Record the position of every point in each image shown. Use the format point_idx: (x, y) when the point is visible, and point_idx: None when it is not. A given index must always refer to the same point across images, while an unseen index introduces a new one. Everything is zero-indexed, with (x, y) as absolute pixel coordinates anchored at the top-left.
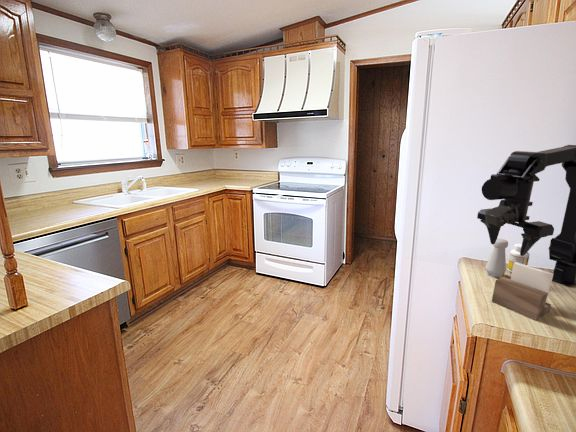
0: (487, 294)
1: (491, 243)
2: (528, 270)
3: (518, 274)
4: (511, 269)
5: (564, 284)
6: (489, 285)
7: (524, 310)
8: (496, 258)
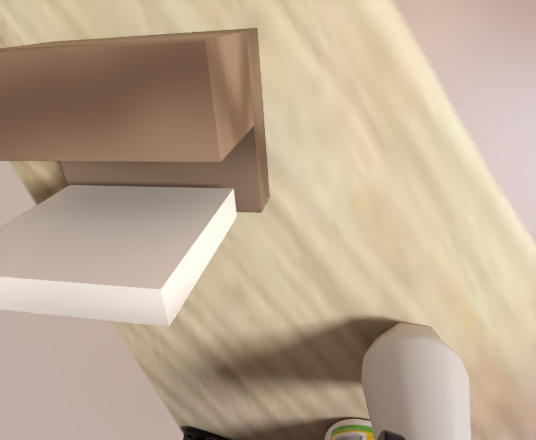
0: (318, 99)
1: (394, 436)
2: (68, 268)
3: (151, 239)
4: (370, 432)
5: (196, 431)
6: (367, 218)
7: (82, 41)
8: (413, 422)
